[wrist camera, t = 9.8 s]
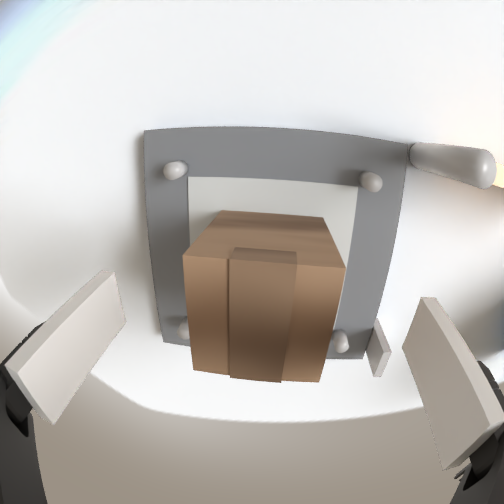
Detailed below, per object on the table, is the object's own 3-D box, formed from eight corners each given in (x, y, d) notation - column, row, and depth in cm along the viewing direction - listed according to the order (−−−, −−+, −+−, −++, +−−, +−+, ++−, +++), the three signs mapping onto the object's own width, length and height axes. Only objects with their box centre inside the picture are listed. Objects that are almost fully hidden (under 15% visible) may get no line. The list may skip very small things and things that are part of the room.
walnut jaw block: (221, 209, 17) (181, 254, 10) (323, 216, 16) (347, 268, 10) (221, 297, 19) (193, 371, 13) (310, 305, 19) (318, 384, 12)
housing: (152, 125, 16) (87, 123, 10) (432, 145, 15) (498, 154, 8) (168, 333, 23) (135, 392, 16) (386, 349, 21) (408, 412, 15)
